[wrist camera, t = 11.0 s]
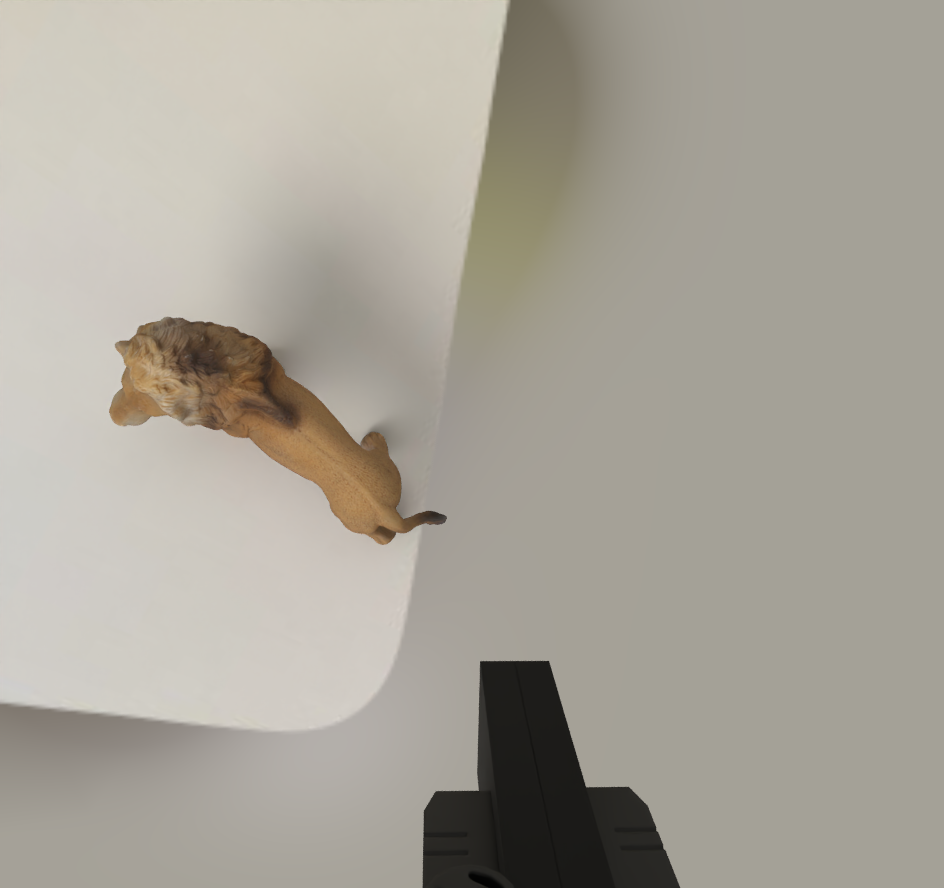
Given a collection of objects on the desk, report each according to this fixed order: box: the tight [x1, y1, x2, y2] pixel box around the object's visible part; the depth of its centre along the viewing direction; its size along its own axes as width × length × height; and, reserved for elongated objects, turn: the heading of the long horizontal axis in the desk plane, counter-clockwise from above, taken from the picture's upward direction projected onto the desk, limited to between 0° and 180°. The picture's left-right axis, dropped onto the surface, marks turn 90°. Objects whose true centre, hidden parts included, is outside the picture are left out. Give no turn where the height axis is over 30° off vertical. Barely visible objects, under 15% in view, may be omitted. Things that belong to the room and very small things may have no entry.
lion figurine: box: [109, 317, 447, 545], centre depth 32 cm, size 15×5×9 cm, turn 59°
